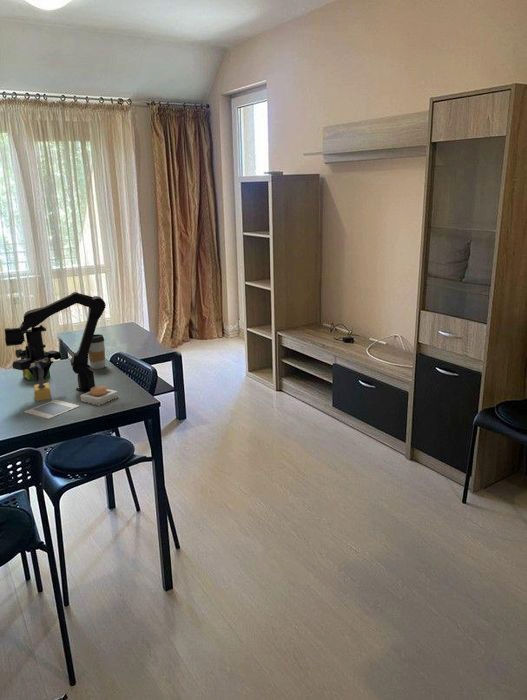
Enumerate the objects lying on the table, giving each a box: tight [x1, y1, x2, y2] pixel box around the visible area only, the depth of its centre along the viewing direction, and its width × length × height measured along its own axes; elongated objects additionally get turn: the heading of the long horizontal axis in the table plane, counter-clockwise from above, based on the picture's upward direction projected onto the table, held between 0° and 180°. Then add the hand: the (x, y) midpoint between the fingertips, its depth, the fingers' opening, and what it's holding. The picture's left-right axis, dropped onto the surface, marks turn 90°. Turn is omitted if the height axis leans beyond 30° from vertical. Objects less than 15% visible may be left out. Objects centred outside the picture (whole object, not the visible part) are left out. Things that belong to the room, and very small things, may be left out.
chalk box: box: [21, 350, 51, 382], centre depth 239 cm, size 9×9×15 cm
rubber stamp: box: [33, 367, 52, 402], centre depth 215 cm, size 10×6×12 cm, turn 23°
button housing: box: [79, 388, 119, 406], centre depth 211 cm, size 10×10×2 cm
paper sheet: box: [23, 399, 80, 420], centre depth 202 cm, size 14×14×1 cm
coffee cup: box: [88, 333, 106, 370], centre depth 251 cm, size 8×8×15 cm
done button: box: [91, 385, 108, 397], centre depth 210 cm, size 6×6×2 cm
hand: (40, 380), depth 215 cm, fingers closed on rubber stamp, 3 cm apart
